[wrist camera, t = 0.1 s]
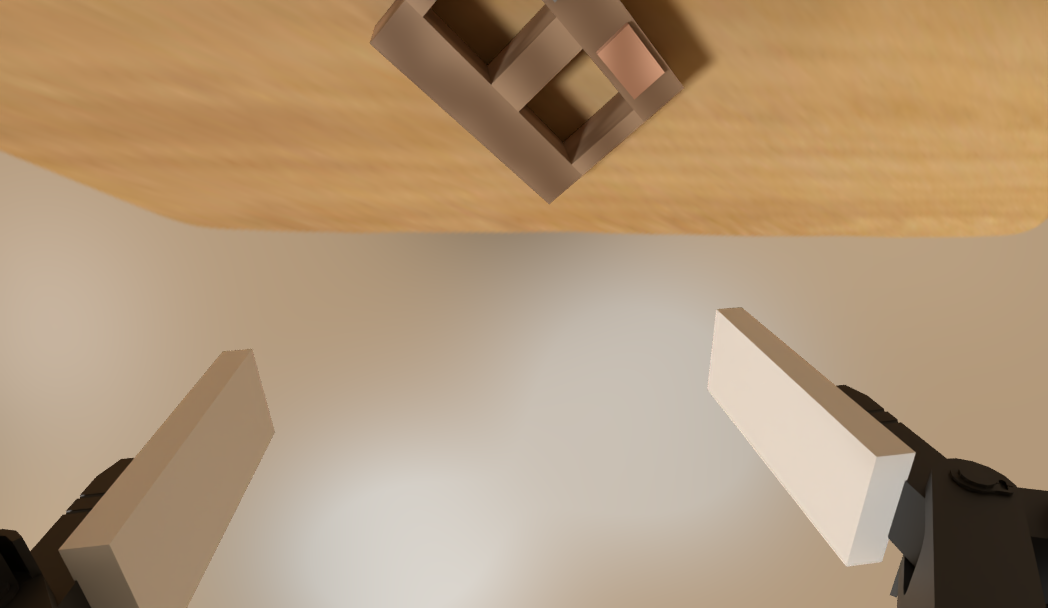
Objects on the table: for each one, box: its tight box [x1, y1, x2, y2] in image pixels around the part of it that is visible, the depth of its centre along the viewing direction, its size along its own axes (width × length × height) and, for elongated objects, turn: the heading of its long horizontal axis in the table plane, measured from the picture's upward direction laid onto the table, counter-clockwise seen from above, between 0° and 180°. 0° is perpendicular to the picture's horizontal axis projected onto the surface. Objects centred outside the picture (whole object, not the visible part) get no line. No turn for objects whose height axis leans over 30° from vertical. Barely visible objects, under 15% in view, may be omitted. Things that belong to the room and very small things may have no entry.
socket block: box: [370, 0, 684, 204], centre depth 35 cm, size 12×16×4 cm
